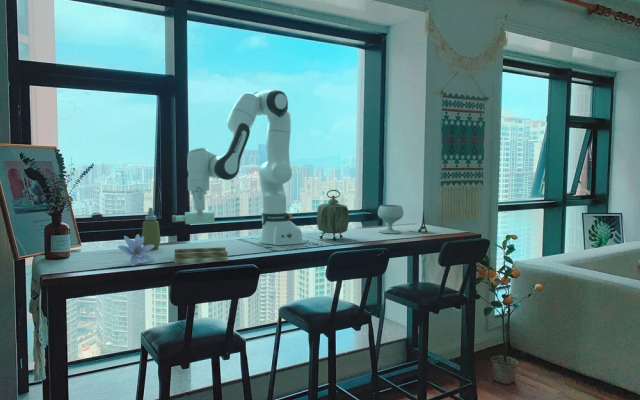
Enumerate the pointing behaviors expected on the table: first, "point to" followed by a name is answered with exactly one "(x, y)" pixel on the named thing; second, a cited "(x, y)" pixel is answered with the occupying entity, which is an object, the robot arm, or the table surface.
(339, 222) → the tabletop clock
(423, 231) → the eiffel tower figurine
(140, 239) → the water lily
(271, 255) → the table surface
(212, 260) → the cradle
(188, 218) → the bottle
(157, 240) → the squeeze bottle
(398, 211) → the chalice
